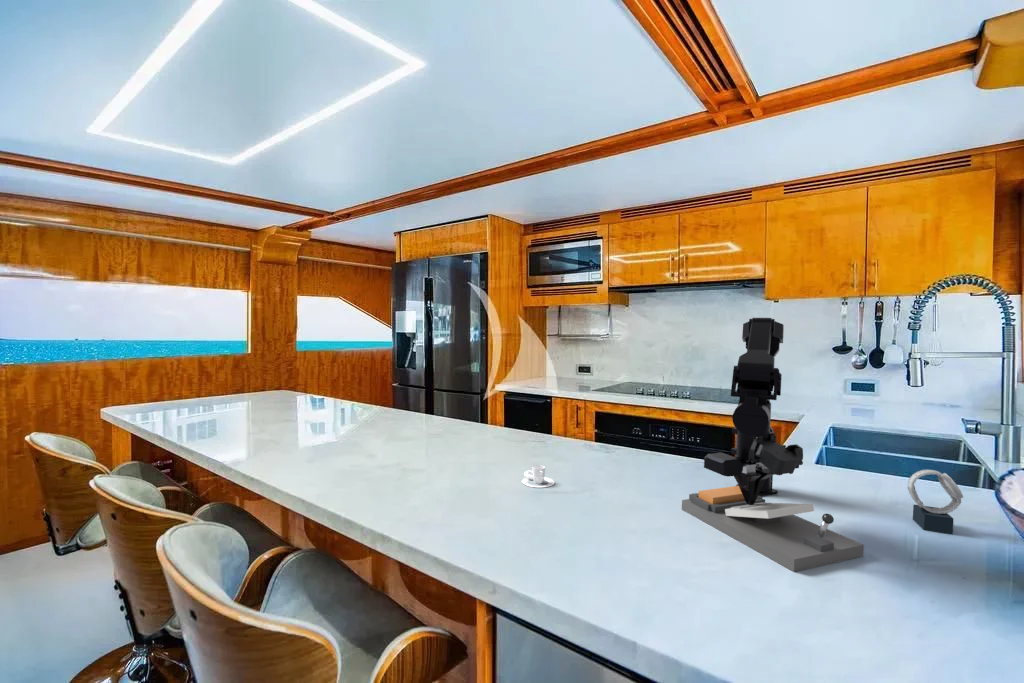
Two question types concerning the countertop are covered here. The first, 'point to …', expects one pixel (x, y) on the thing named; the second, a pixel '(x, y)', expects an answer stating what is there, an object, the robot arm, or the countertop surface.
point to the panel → (777, 535)
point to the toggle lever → (825, 524)
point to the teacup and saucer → (537, 477)
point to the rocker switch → (768, 510)
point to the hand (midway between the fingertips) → (749, 504)
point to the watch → (934, 516)
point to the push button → (722, 495)
